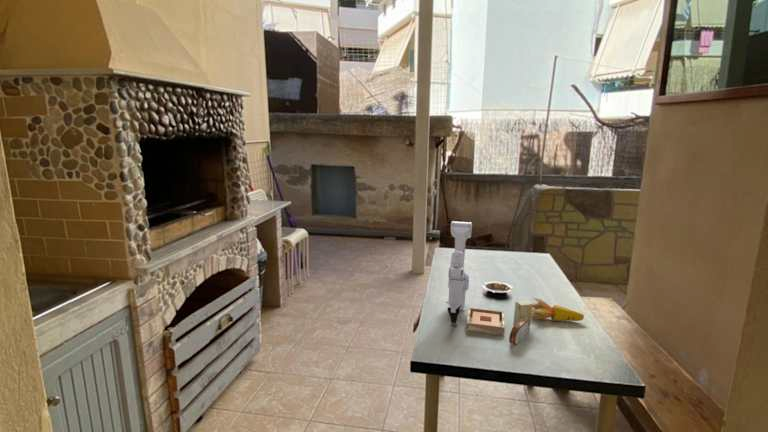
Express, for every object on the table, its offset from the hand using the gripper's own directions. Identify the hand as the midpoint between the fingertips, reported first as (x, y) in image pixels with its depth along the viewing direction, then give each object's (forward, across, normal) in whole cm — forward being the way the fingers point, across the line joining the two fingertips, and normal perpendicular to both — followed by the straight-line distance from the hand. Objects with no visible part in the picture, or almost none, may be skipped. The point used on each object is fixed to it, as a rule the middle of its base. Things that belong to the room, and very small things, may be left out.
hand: (453, 320), depth 188 cm
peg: (+2, 0, 0) cm, 2 cm away
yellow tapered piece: (+3, -17, +45) cm, 48 cm away
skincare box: (+3, -6, +30) cm, 31 cm away
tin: (+3, +6, +28) cm, 29 cm away
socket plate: (+2, -4, +14) cm, 15 cm away
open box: (+2, -4, +14) cm, 15 cm away
